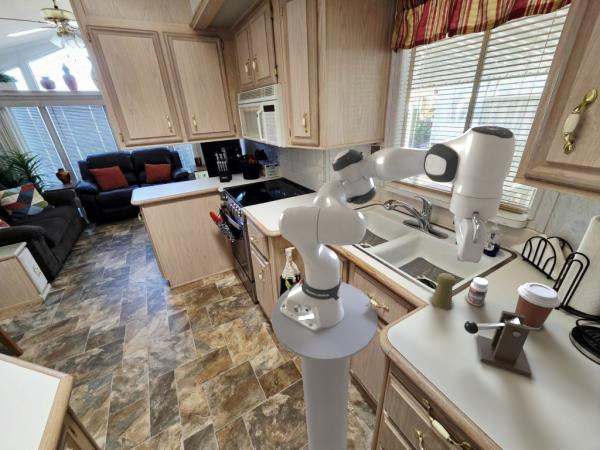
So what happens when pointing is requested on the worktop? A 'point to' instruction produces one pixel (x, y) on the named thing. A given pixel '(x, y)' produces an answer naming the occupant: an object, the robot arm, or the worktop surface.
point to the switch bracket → (506, 346)
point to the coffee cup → (536, 303)
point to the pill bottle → (477, 291)
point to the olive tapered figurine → (444, 291)
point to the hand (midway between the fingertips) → (460, 258)
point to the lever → (488, 325)
